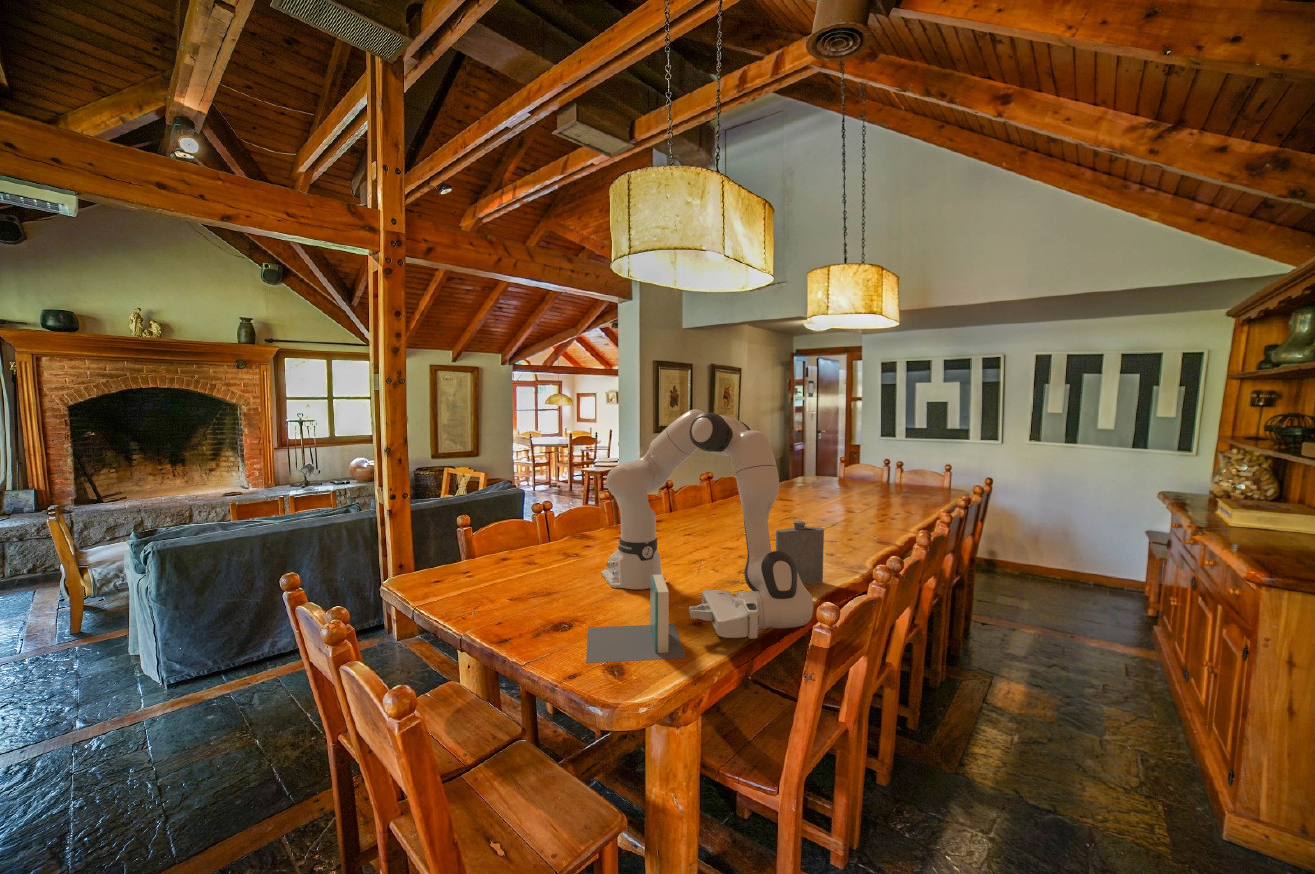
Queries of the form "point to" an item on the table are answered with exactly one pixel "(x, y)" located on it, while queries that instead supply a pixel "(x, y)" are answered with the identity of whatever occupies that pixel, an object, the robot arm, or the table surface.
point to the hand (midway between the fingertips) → (689, 612)
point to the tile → (659, 613)
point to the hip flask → (803, 550)
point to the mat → (629, 644)
